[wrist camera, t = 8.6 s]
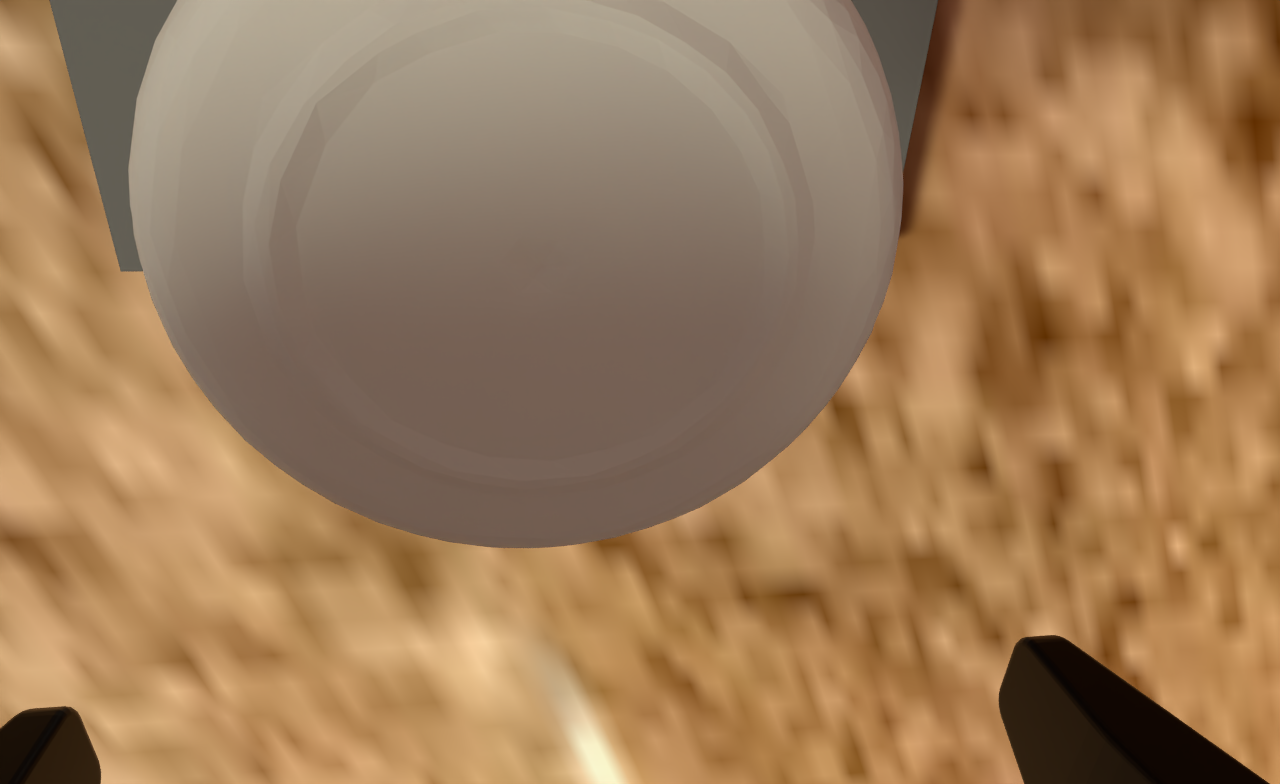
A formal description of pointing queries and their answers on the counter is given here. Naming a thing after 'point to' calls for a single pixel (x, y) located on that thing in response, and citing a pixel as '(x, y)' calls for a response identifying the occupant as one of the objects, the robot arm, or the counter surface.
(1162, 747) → the robot arm
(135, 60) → the gray tray
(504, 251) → the sprinkles bottle
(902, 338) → the counter surface
